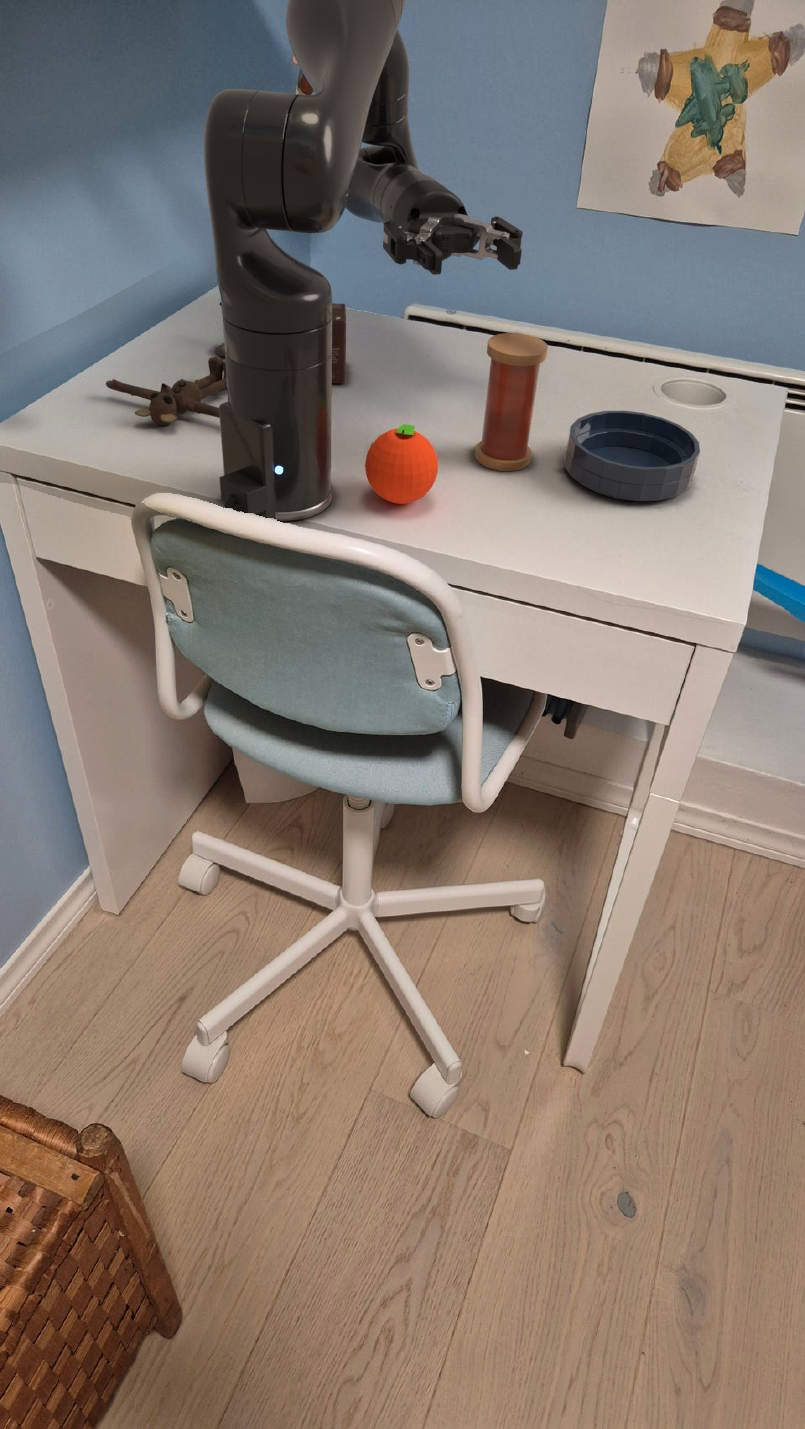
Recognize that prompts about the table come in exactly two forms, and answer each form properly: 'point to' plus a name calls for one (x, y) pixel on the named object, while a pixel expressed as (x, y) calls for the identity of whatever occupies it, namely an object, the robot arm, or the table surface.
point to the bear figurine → (179, 395)
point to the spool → (510, 400)
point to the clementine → (401, 465)
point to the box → (338, 343)
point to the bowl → (631, 455)
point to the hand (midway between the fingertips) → (477, 262)
